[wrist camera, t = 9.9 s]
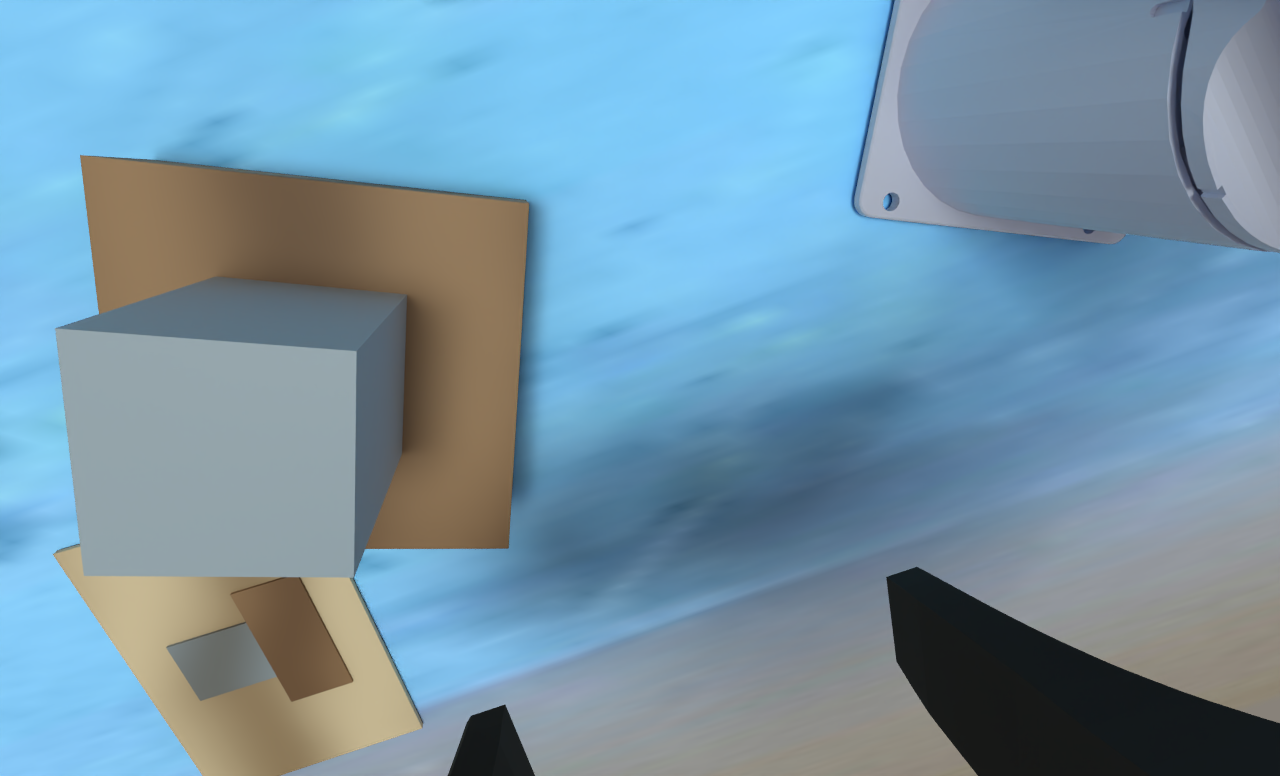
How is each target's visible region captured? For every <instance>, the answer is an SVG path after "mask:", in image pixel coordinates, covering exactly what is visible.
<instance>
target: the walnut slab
mask: <svg viewBox="0 0 1280 776" xmlns="http://www.w3.org/2000/svg"><path fill="white" fill-rule="evenodd" d="M80 158H81V167H82V175H83V184H84V192H85V200H86V209H87V217H88V225H89V234H90V242H91V250H92V259H93V267H94V275H95V284H96V292H97V301H98V309H99V314H101V313H104V312H108V311H111V310H114V309H117V308H120V307H123V306H126V305H129V304H132V303H135V302H138V301H141V300H145V299H148V298H151V297H154V296H157V295H160V294H163V293H166V292H169V291H172V290H175V289H179V288H182V287H185V286H188V285H191V284H194V283H197V282H200V281H203V280H206V279H209V278H212V277H216V276H217V277H227V278H238V279H248V280H259V281H270V282H280V283H291V284H301V285H312V286H323V287H333V288H344V289H354V290H365V291H376V292H386V293H397V294H407V311H406V343H405V374H404V405H403V436H402V455H401V457H400V460H399V463H398V465H397V468H396V470H395V473H394V475H393V478H392V481H391V483H390V486H389V488H388V491H387V494H386V496H385V499H384V501H383V504H382V506H381V509H380V512H379V514H378V517H377V519H376V522H375V525H374V527H373V530H372V532H371V535H370V537H369V540H368V543H367V545H366V548H365V549H496V548H509V532H510V515H511V498H512V482H513V465H514V448H515V432H516V415H517V398H518V381H519V365H520V348H521V331H522V314H523V298H524V281H525V264H526V247H527V231H528V214H529V203H528V202H527V201H526V200H520V199H511V198H502V197H492V196H483V195H474V194H465V193H455V192H446V191H437V190H428V189H418V188H409V187H400V186H391V185H381V184H372V183H363V182H354V181H344V180H335V179H326V178H317V177H307V176H298V175H289V174H280V173H270V172H261V171H252V170H243V169H233V168H224V167H215V166H205V165H196V164H187V163H178V162H168V161H159V160H147V159H131V158H115V157H99V156H83V155H80Z"/></svg>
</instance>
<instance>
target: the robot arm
mask: <svg viewBox="0 0 1280 776" xmlns="http://www.w3.org/2000/svg"><path fill="white" fill-rule="evenodd" d="M888 193H890V194H891V196H892V203H891V206H890V207H889V208H888V209H886V210H885V208H884V206H883V200H884V198H885V196H886V195H887V194H888ZM854 205H855V208H856V210H857V211H858V212H859V213H860V215H863V216H866V217H872V218H881V219H890V220H898V221H907V222H916V223H925V224H934V225H943V226H952V227H961V228H970V229H979V230H988V231H997V232H1006V233H1015V234H1024V235H1032V236H1041V237H1050V238H1059V239H1068V240H1077V241H1086V242H1095V243H1104V244H1115V243H1117V242H1119V241H1121V239H1122V238H1123V237H1124V236H1125V235H1126V234H1129V235H1137V236H1145V237H1153V238H1161V239H1169V240H1177V241H1185V242H1193V243H1201V244H1209V245H1217V246H1225V247H1233V248H1241V249H1249V250H1257V251H1269V252H1278V253H1280V0H895V2H894V7H893V12H892V17H891V22H890V27H889V32H888V36H887V41H886V46H885V51H884V56H883V61H882V66H881V71H880V76H879V80H878V85H877V90H876V95H875V100H874V105H873V110H872V115H871V119H870V124H869V129H868V134H867V139H866V144H865V149H864V154H863V158H862V163H861V168H860V173H859V178H858V183H857V188H856V193H855V198H854ZM1083 229H1084V230H1083ZM886 578H887V586H888V594H889V603H890V611H891V619H892V627H893V636H894V644H895V652H896V661H897V663H898V664H899V666H900V668H901V669H902V671H903V673H904V674H905V676H906V678H907V679H908V681H909V683H910V684H911V686H912V687H913V689H914V691H915V692H916V694H917V695H918V697H919V698H920V700H921V702H922V703H923V705H924V706H925V708H926V709H927V711H928V712H929V714H930V715H931V716H932V718H933V719H934V720H935V722H936V723H937V724H938V726H939V727H940V728H941V729H942V731H943V732H944V733H945V734H946V736H947V737H948V738H949V740H950V741H951V742H952V743H953V745H954V746H955V747H956V748H957V750H958V751H959V752H960V753H961V755H962V756H963V757H964V759H965V760H966V761H967V762H968V764H969V765H970V766H971V767H972V769H973V770H974V771H975V772H976V774H977V775H978V776H1280V723H1276V722H1274V721H1270V720H1267V719H1263V718H1260V717H1257V716H1254V715H1251V714H1248V713H1245V712H1242V711H1238V710H1235V709H1232V708H1229V707H1226V706H1223V705H1220V704H1217V703H1214V702H1210V701H1207V700H1205V699H1202V698H1199V697H1196V696H1193V695H1190V694H1187V693H1184V692H1182V691H1179V690H1176V689H1174V688H1171V687H1168V686H1166V685H1163V684H1161V683H1158V682H1155V681H1153V680H1150V679H1147V678H1145V677H1142V676H1140V675H1137V674H1134V673H1132V672H1129V671H1127V670H1124V669H1122V668H1119V667H1117V666H1115V665H1112V664H1110V663H1107V662H1105V661H1103V660H1100V659H1098V658H1096V657H1094V656H1092V655H1089V654H1087V653H1085V652H1083V651H1080V650H1078V649H1076V648H1074V647H1072V646H1069V645H1067V644H1065V643H1063V642H1060V641H1058V640H1056V639H1054V638H1052V637H1050V636H1048V635H1046V634H1044V633H1042V632H1040V631H1038V630H1036V629H1034V628H1031V627H1029V626H1027V625H1025V624H1023V623H1022V622H1020V621H1018V620H1016V619H1014V618H1012V617H1010V616H1008V615H1006V614H1004V613H1002V612H1000V611H998V610H996V609H994V608H992V607H990V606H989V605H987V604H985V603H983V602H981V601H979V600H977V599H975V598H974V597H972V596H970V595H968V594H966V593H964V592H962V591H961V590H959V589H957V588H955V587H953V586H951V585H950V584H948V583H946V582H944V581H942V580H940V579H939V578H937V577H935V576H933V575H931V574H929V573H928V572H926V571H924V570H922V569H920V568H918V567H915V568H912V569H909V570H906V571H903V572H900V573H897V574H894V575H891V576H888V577H886ZM448 776H535V775H534V772H533V770H532V768H531V765H530V763H529V760H528V758H527V756H526V753H525V751H524V748H523V746H522V744H521V741H520V739H519V736H518V734H517V732H516V729H515V727H514V725H513V722H512V720H511V717H510V715H509V713H508V710H507V708H506V705H502V706H499V707H496V708H493V709H490V710H487V711H484V712H481V713H478V714H475V715H472V716H471V717H470V719H469V720H468V722H467V724H466V727H465V729H464V732H463V735H462V738H461V741H460V744H459V746H458V749H457V752H456V755H455V757H454V760H453V763H452V766H451V768H450V771H449V774H448Z"/></svg>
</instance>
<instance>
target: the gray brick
mask: <svg viewBox="0 0 1280 776" xmlns="http://www.w3.org/2000/svg"><path fill="white" fill-rule="evenodd" d="M406 311H407V294H397V293H386V292H376V291H365V290H354V289H344V288H333V287H323V286H312V285H301V284H291V283H280V282H270V281H259V280H248V279H238V278H227V277H217V276H216V277H212V278H209V279H206V280H203V281H200V282H197V283H194V284H191V285H188V286H185V287H182V288H179V289H175V290H172V291H169V292H166V293H163V294H160V295H157V296H154V297H151V298H148V299H145V300H141V301H138V302H135V303H132V304H129V305H126V306H123V307H120V308H117V309H114V310H111V311H108V312H104V313H101V314H98V315H95V316H92V317H89V318H86V319H83V320H80V321H77V322H74V323H71V324H67V325H64V326H61V327H58V328H55V330H56V339H57V348H58V356H59V365H60V374H61V382H62V391H63V400H64V408H65V417H66V426H67V434H68V443H69V452H70V460H71V469H72V478H73V486H74V495H75V504H76V512H77V521H78V530H79V538H80V547H81V556H82V564H83V573H84V576H174V577H345V578H354V576H355V574H356V571H357V568H358V566H359V563H360V561H361V558H362V556H363V553H364V550H365V548H366V545H367V543H368V540H369V537H370V535H371V532H372V530H373V527H374V525H375V522H376V519H377V517H378V514H379V512H380V509H381V506H382V504H383V501H384V499H385V496H386V494H387V491H388V488H389V486H390V483H391V481H392V478H393V475H394V473H395V470H396V468H397V465H398V463H399V460H400V457H401V455H402V436H403V405H404V374H405V343H406Z"/></svg>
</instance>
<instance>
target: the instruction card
mask: <svg viewBox="0 0 1280 776" xmlns="http://www.w3.org/2000/svg"><path fill="white" fill-rule="evenodd" d="M53 555H54V557H55V558H56V560H57V561H58V563H59V564H60V566H61V567H62V569H63V570H64V572H65V573H66V575H67V576H68V578H69V579H70V581H71V582H72V583H73V585H74V586H75V588H76V589H77V591H78V592H79V594H80V595H81V597H82V598H83V600H84V601H85V603H86V604H87V606H88V607H89V609H90V610H91V612H92V613H93V614H94V616H95V617H96V619H97V620H98V622H99V623H100V625H101V626H102V628H103V629H104V631H105V632H106V634H107V635H108V637H109V638H110V640H111V641H112V643H113V644H114V645H115V647H116V648H117V650H118V651H119V653H120V654H121V656H122V657H123V659H124V660H125V662H126V663H127V665H128V666H129V668H130V669H131V671H132V672H133V674H134V675H135V676H136V678H137V679H138V681H139V682H140V684H141V685H142V687H143V688H144V690H145V691H146V693H147V694H148V696H149V697H150V699H151V700H152V702H153V703H154V705H155V706H156V707H157V709H158V710H159V712H160V713H161V715H162V716H163V718H164V719H165V721H166V722H167V724H168V725H169V727H170V728H171V730H172V731H173V733H174V734H175V736H176V737H177V738H178V740H179V741H180V743H181V744H182V746H183V747H184V749H185V750H186V752H187V753H188V755H189V756H190V758H191V759H192V761H193V762H194V764H195V765H196V767H197V768H198V769H199V771H200V772H201V774H202V775H203V776H280V775H283V774H286V773H289V772H292V771H295V770H298V769H301V768H304V767H307V766H310V765H313V764H316V763H319V762H322V761H325V760H328V759H331V758H334V757H337V756H340V755H343V754H346V753H349V752H352V751H355V750H358V749H361V748H364V747H367V746H370V745H373V744H376V743H379V742H382V741H385V740H388V739H391V738H394V737H397V736H400V735H403V734H406V733H409V732H412V731H415V730H418V729H421V728H422V727H423V723H422V721H421V719H420V716H419V714H418V712H417V710H416V708H415V706H414V704H413V702H412V700H411V698H410V696H409V694H408V692H407V690H406V687H405V685H404V683H403V681H402V679H401V677H400V675H399V673H398V671H397V669H396V667H395V665H394V663H393V661H392V659H391V656H390V654H389V652H388V650H387V648H386V646H385V644H384V642H383V640H382V638H381V636H380V634H379V632H378V630H377V627H376V625H375V623H374V621H373V619H372V617H371V615H370V613H369V611H368V609H367V607H366V605H365V603H364V601H363V598H362V596H361V594H360V592H359V590H358V588H357V586H356V584H355V582H354V580H353V578H345V577H174V576H84V573H83V564H82V556H81V547H80V544H78V545H75V546H71V547H68V548H64V549H61V550H57V551H56V552H55V553H54V554H53Z"/></svg>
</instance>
